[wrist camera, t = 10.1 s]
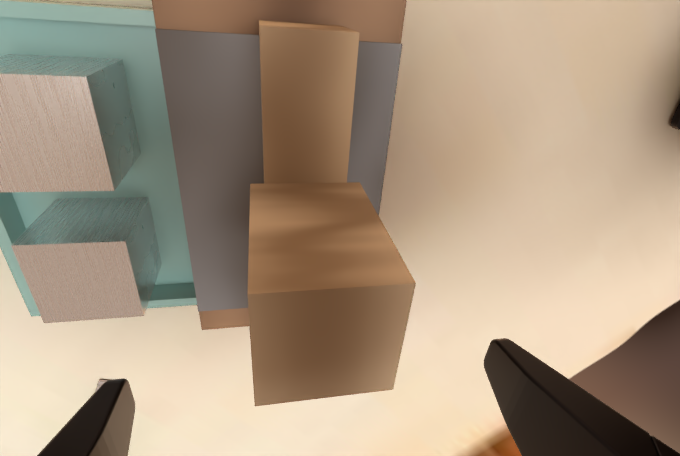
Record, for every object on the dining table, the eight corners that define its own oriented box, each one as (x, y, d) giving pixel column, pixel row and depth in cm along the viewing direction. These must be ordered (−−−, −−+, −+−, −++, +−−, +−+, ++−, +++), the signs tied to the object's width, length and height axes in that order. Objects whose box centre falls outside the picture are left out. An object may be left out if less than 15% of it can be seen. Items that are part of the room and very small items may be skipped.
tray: (162, 9, 15) (153, 11, 14) (201, 286, 22) (197, 304, 21) (-78, -8, 14) (-115, -8, 12) (45, 295, 21) (31, 316, 20)
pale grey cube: (86, 76, 12) (-63, 71, 12) (114, 190, 14) (-10, 192, 14) (122, 58, 16) (9, 53, 15) (141, 153, 18) (42, 153, 17)
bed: (387, -2, 17) (408, -1, 14) (354, 289, 25) (364, 319, 22) (163, -21, 15) (146, -23, 13) (206, 299, 23) (201, 332, 21)
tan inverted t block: (354, 26, 14) (463, 63, 7) (332, 308, 22) (373, 479, 14) (244, 19, 14) (231, 51, 6) (258, 314, 21) (261, 497, 13)
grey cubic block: (125, 241, 15) (10, 245, 15) (143, 315, 17) (44, 323, 17) (148, 196, 19) (56, 198, 18) (161, 263, 21) (79, 267, 20)
